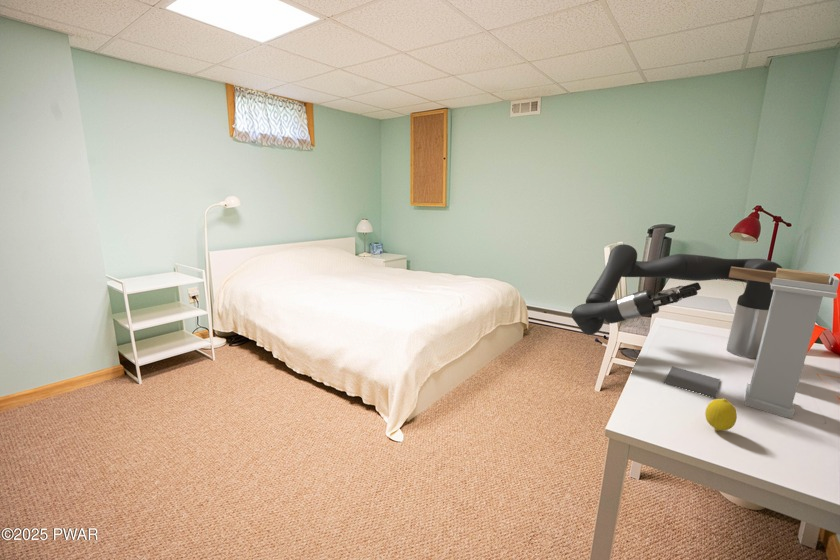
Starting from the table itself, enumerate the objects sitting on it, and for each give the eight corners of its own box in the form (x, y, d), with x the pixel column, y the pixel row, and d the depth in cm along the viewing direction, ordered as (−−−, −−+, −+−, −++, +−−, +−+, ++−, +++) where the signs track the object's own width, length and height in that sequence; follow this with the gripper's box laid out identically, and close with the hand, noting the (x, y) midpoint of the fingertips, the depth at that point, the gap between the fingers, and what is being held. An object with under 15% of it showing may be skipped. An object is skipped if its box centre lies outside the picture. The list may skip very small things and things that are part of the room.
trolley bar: (729, 275, 103) (732, 262, 102) (823, 288, 92) (828, 273, 91) (728, 277, 100) (731, 264, 99) (826, 290, 89) (830, 276, 88)
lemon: (696, 423, 90) (703, 392, 88) (718, 423, 90) (725, 392, 89) (716, 438, 84) (723, 405, 83) (738, 437, 85) (747, 405, 83)
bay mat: (671, 367, 120) (672, 366, 119) (719, 380, 112) (719, 379, 112) (663, 383, 109) (663, 381, 109) (715, 398, 102) (715, 396, 102)
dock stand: (743, 389, 107) (773, 268, 100) (797, 404, 100) (834, 274, 93) (742, 404, 99) (775, 273, 91) (800, 421, 92) (841, 281, 84)
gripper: (647, 311, 122) (706, 296, 111) (637, 321, 111) (701, 305, 101) (637, 289, 123) (695, 272, 112) (626, 297, 112) (688, 279, 102)
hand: (698, 288), depth 106 cm, fingers open, 8 cm apart
